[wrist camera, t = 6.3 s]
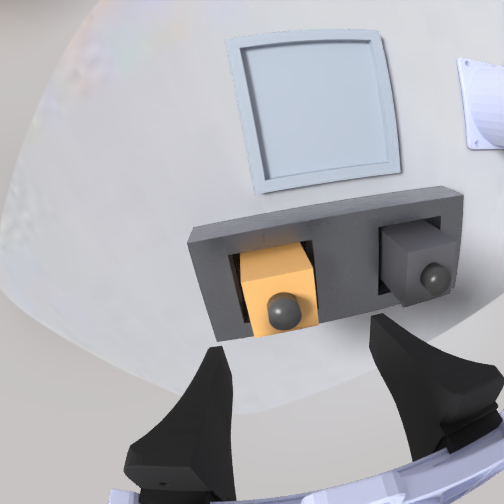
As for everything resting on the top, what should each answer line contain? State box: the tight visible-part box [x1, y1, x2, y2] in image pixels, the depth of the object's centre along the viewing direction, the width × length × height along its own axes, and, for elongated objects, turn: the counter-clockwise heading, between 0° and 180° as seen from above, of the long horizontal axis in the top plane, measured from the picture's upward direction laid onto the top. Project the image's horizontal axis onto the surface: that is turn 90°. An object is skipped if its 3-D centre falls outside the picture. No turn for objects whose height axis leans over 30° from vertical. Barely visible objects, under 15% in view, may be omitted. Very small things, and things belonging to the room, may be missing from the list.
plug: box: [240, 242, 319, 338], centre depth 19 cm, size 4×4×7 cm
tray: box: [225, 29, 401, 195], centre depth 18 cm, size 11×11×1 cm
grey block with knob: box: [378, 219, 457, 307], centre depth 19 cm, size 4×4×7 cm
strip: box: [187, 186, 464, 342], centre depth 21 cm, size 20×8×3 cm, turn 100°
